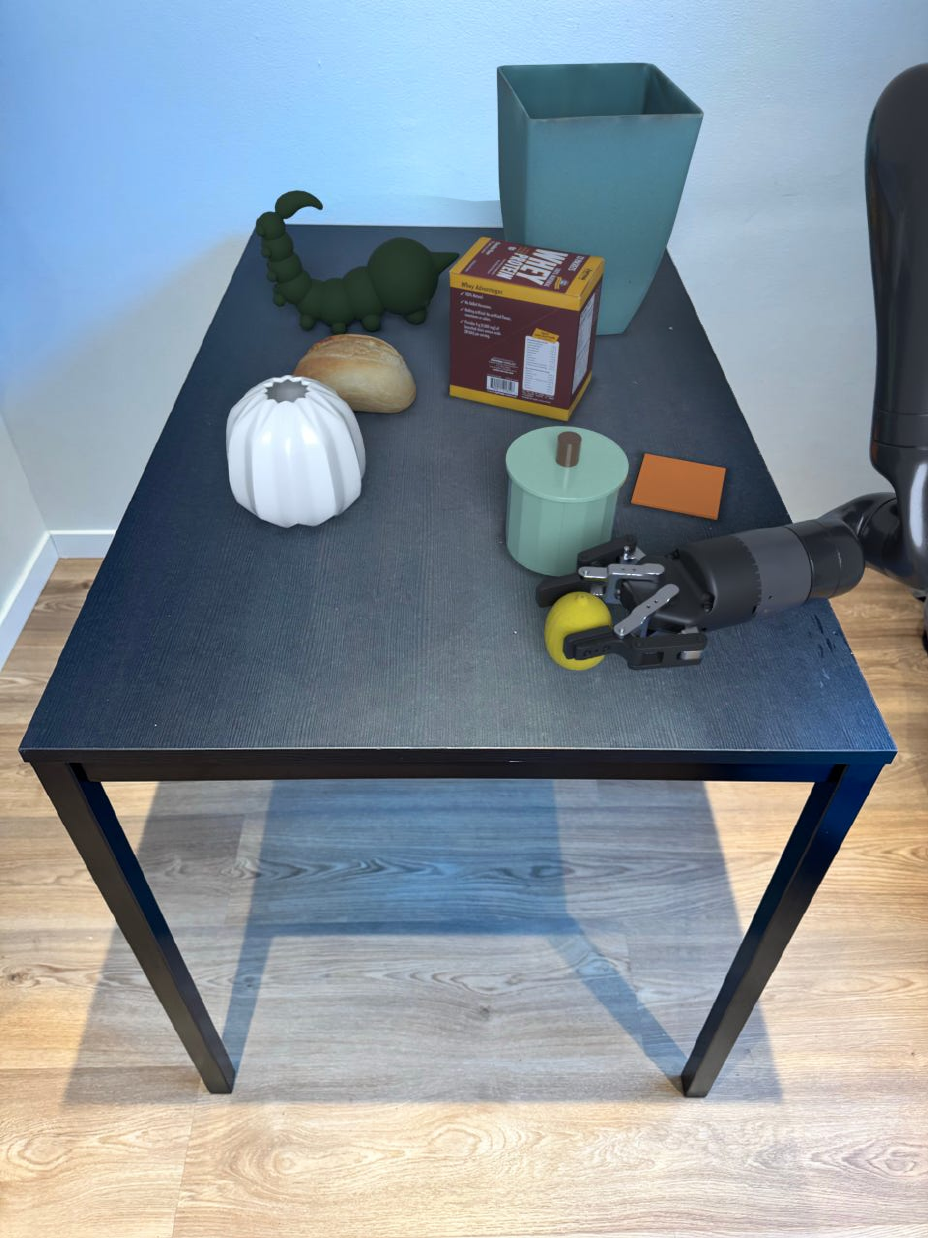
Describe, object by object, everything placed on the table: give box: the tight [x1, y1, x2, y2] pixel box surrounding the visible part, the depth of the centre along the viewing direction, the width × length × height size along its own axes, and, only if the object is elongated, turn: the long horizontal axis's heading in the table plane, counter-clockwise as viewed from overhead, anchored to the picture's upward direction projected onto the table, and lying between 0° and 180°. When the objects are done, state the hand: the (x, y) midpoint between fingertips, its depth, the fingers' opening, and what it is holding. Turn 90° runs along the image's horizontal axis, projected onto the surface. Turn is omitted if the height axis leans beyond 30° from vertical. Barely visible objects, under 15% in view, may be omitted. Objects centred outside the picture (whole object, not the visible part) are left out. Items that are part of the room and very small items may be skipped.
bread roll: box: [291, 333, 417, 414], centre depth 103 cm, size 10×15×8 cm, turn 93°
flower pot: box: [496, 62, 705, 336], centre depth 111 cm, size 20×20×28 cm
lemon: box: [543, 592, 614, 671], centre depth 72 cm, size 6×6×8 cm
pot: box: [504, 475, 621, 577], centre depth 85 cm, size 10×10×9 cm
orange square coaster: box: [630, 453, 727, 521], centre depth 95 cm, size 9×9×1 cm
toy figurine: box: [255, 189, 461, 335], centre depth 113 cm, size 9×19×25 cm
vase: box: [225, 374, 367, 529], centre depth 88 cm, size 14×14×13 cm
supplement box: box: [448, 236, 605, 422], centre depth 103 cm, size 10×15×16 cm
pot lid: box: [504, 425, 630, 503], centre depth 81 cm, size 11×11×4 cm
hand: (551, 621), depth 70 cm, fingers closed on lemon, 5 cm apart
